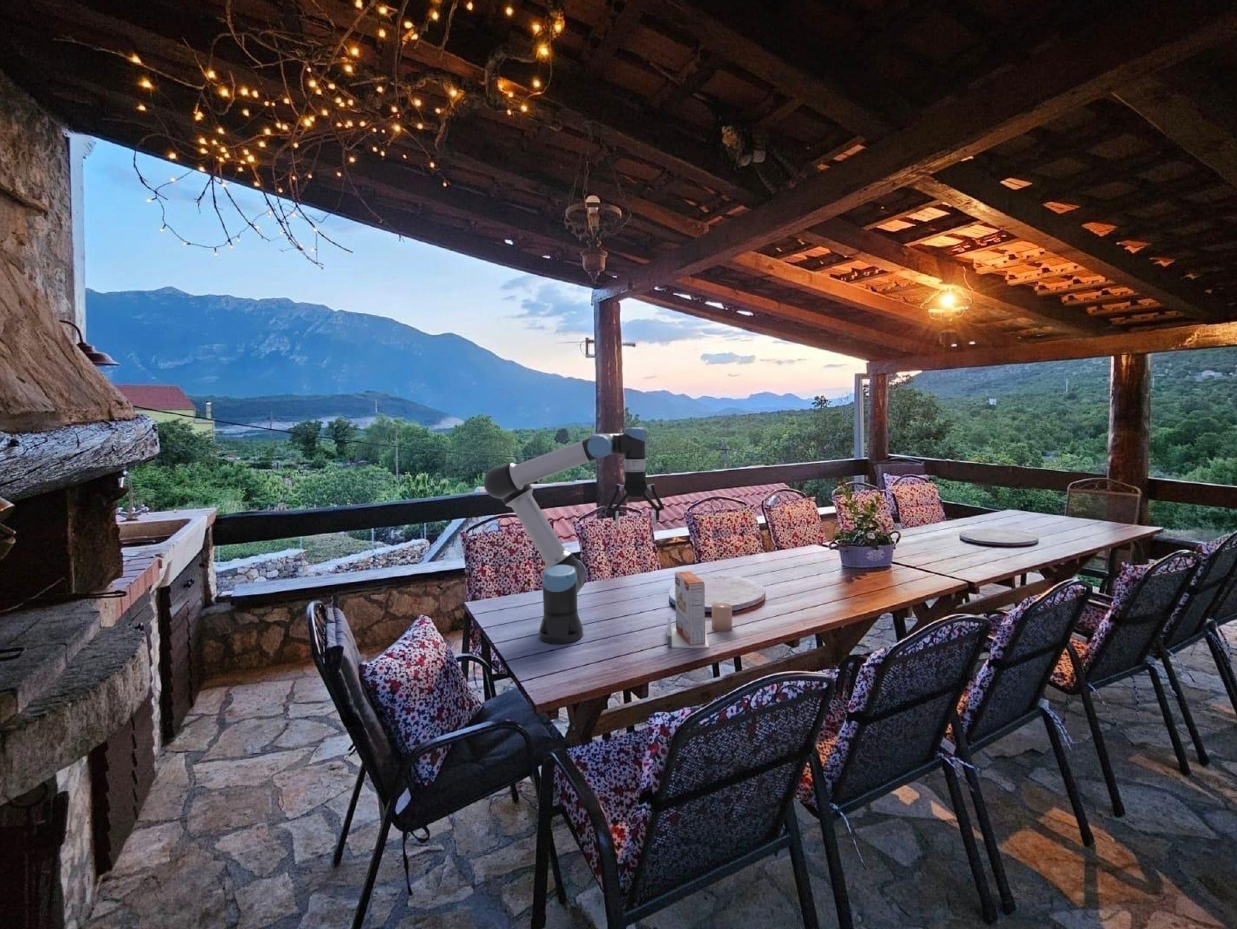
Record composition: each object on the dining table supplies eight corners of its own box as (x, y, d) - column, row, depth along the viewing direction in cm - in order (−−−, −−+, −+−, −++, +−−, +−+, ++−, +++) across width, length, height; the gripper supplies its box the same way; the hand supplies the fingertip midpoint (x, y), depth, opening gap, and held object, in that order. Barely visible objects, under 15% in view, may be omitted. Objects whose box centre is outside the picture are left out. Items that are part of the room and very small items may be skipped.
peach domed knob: (712, 631, 192) (712, 609, 192) (711, 624, 199) (710, 602, 199) (733, 631, 192) (733, 609, 191) (730, 624, 199) (730, 602, 198)
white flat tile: (667, 647, 179) (667, 635, 179) (667, 629, 195) (667, 618, 195) (708, 648, 178) (708, 636, 178) (705, 629, 194) (705, 618, 194)
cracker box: (674, 630, 193) (674, 571, 191) (691, 628, 194) (690, 570, 192) (688, 646, 179) (687, 583, 177) (705, 644, 180) (705, 581, 179)
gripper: (599, 472, 194) (600, 531, 195) (670, 471, 192) (671, 531, 193) (601, 470, 201) (602, 527, 203) (670, 469, 199) (670, 527, 201)
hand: (636, 529), depth 198 cm, fingers open, 13 cm apart
